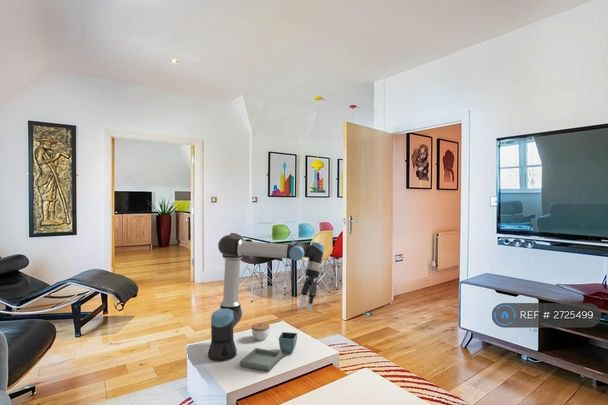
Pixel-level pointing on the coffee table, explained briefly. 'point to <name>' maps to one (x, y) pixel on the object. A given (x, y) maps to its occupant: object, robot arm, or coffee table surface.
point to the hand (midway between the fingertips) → (305, 308)
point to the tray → (261, 359)
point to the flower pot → (287, 342)
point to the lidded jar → (260, 331)
